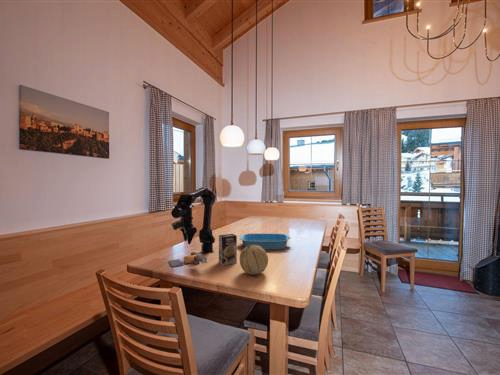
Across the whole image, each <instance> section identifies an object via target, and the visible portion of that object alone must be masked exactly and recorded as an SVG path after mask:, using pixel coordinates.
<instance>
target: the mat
mask: <svg viewBox="0 0 500 375" xmlns="http://www.w3.org/2000/svg"><path fill="white" fill-rule="evenodd" d="M168 263H169V265H170V266H171V268H177V267H181V266H184V262H182V261H181V259H180V258H177V259H172V260H168Z"/></svg>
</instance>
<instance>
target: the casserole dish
mask: <svg viewBox="0 0 500 375" xmlns="http://www.w3.org/2000/svg"><path fill="white" fill-rule="evenodd" d="M290 239H291V237H290V236H289V235H287V234H284V233H262V232H261V233H244V234H243V235H239V240H241V241H242V246H243V247H244V248H246V247H248V245H249V246H250V245H258V246H261V247H262V248H263V249H264V250H283V249H284V248H285V247H286V246H287V244H288V241H289V240H290Z"/></svg>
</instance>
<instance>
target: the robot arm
mask: <svg viewBox="0 0 500 375" xmlns="http://www.w3.org/2000/svg"><path fill="white" fill-rule="evenodd" d="M216 197H217V196H216V194H215V193H214V192H213V191H212V190H210V189H209V188H208V187H199V188H198V189H196V190H193V191H192V192H191V191H190V192H187V193H181V194H180V196H179V198H178V201H177V202H176V204H175V205H174V207H173V208H172V210H171V211H170V212H171V213H170V214H171V217H173V219H179V218H180V219H179V220H176V221H175V222H172V223H171V227H172V229H173V230H174V231H177V230H178V229H179V230H180V232H181V233H182V237H183V240H184V242H186V241H187V244H188V245H191V243H192V241H193V239H194V237H195V234H196V233H197V232H198V229H197V227H195V226H194V224H193V220H194V217H193V208H194V207H195V205H194V204H193V203H194V202H196V199H198V198H201V199H202V203H203V205H204V208H203V220H202V228H201V229H199V232H198V238H199V242H200V243H201V253H204V254H210V253H214V252H215V251H214V249H213V248H214V247H213V246H214V243H215V241H216V239H215V237H214V235H213V230H212V228H211V222H212V208H213V205H214V204H215V201H216Z"/></svg>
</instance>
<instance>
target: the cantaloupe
mask: <svg viewBox="0 0 500 375" xmlns="http://www.w3.org/2000/svg"><path fill="white" fill-rule="evenodd" d="M268 263H269V256H268V254H267V252H266V249H263V248H262V247H261V246H258V245H250V246H249V245H248V247H246V248H245V247H244V248H243V249H242V250H241V252H240V254H239V265H240V268H241V269H242V270H243V271H244V272H245V274H248V275H252V276H254V275H259V274H261V273H263V272H264V271H265V270H266V269H267V267H268Z"/></svg>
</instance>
